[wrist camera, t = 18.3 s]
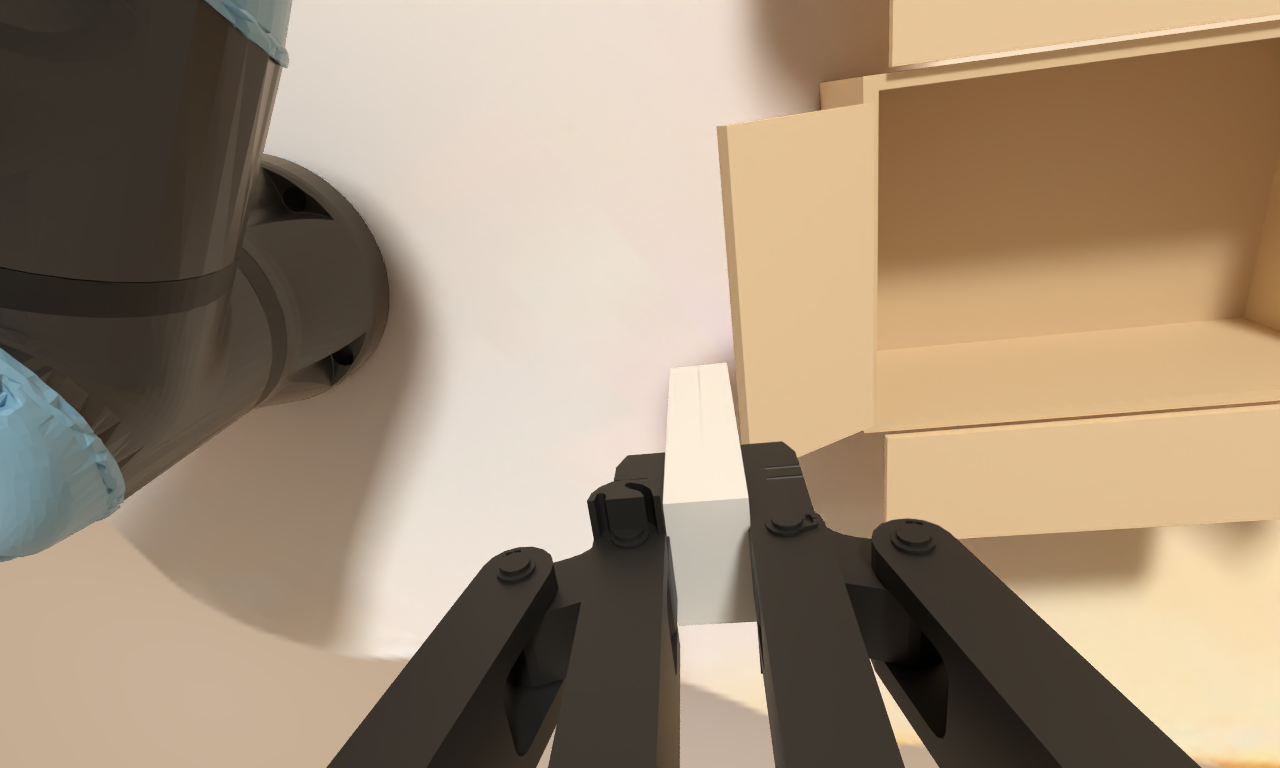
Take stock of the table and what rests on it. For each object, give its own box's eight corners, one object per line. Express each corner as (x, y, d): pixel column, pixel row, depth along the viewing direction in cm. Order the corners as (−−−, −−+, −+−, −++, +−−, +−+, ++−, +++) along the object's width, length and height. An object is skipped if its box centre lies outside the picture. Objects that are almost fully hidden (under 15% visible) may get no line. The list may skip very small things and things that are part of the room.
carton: (828, 449, 45) (866, 544, 35) (816, -52, 34) (865, -112, 24) (1226, 418, 42) (1385, 512, 32) (1347, -135, 31) (1638, -240, 22)
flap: (863, 422, 32) (743, 471, 29) (862, 103, 27) (716, 126, 24) (873, 426, 32) (752, 476, 29) (874, 102, 26) (726, 125, 24)
